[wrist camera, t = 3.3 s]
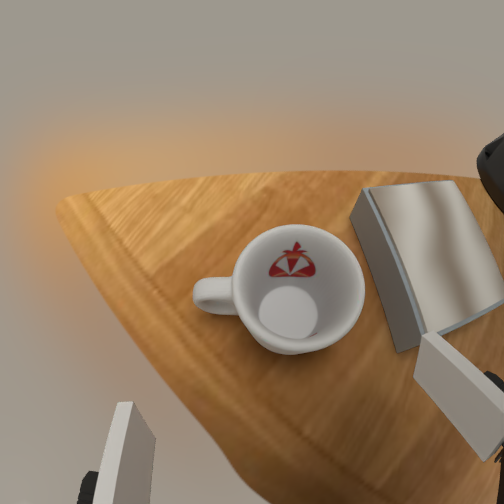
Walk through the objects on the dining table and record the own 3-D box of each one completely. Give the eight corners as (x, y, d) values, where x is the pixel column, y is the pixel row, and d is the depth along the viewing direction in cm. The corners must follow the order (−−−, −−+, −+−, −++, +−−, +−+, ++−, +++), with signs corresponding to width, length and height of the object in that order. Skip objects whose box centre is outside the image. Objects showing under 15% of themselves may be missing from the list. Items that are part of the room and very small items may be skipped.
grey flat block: (434, 204, 29) (454, 177, 24) (482, 314, 22) (512, 298, 18) (349, 217, 28) (363, 185, 23) (396, 353, 22) (426, 342, 17)
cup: (201, 360, 22) (175, 345, 15) (209, 270, 25) (191, 220, 18) (335, 363, 22) (371, 348, 14) (331, 273, 25) (357, 225, 18)
